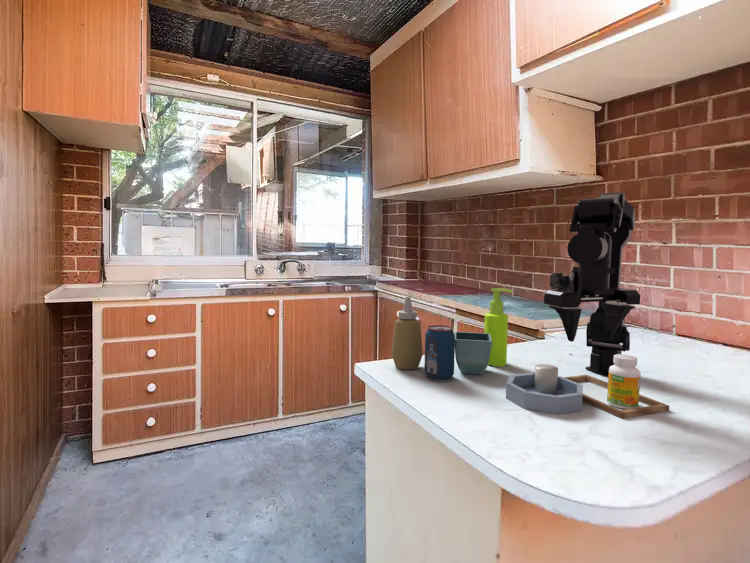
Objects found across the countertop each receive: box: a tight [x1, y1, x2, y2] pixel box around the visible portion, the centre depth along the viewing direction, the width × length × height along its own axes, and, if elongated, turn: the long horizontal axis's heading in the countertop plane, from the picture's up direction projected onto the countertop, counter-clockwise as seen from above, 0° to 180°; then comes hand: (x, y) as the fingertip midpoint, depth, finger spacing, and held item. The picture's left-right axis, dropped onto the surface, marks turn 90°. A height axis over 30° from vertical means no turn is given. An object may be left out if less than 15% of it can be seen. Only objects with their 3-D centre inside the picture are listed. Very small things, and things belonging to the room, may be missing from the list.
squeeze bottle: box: [391, 296, 424, 371], centre depth 106 cm, size 8×8×18 cm
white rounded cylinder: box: [534, 363, 559, 394], centre depth 88 cm, size 4×4×5 cm
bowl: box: [505, 372, 584, 415], centre depth 85 cm, size 14×14×3 cm
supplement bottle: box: [606, 353, 642, 410], centre depth 83 cm, size 5×5×10 cm
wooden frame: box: [563, 374, 670, 419], centre depth 88 cm, size 12×20×1 cm, turn 18°
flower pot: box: [454, 331, 492, 375], centre depth 104 cm, size 9×9×9 cm
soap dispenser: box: [483, 287, 514, 367], centre depth 110 cm, size 6×7×20 cm
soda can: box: [423, 324, 455, 382], centre depth 99 cm, size 7×7×12 cm
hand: (589, 339), depth 84 cm, fingers open, 9 cm apart
